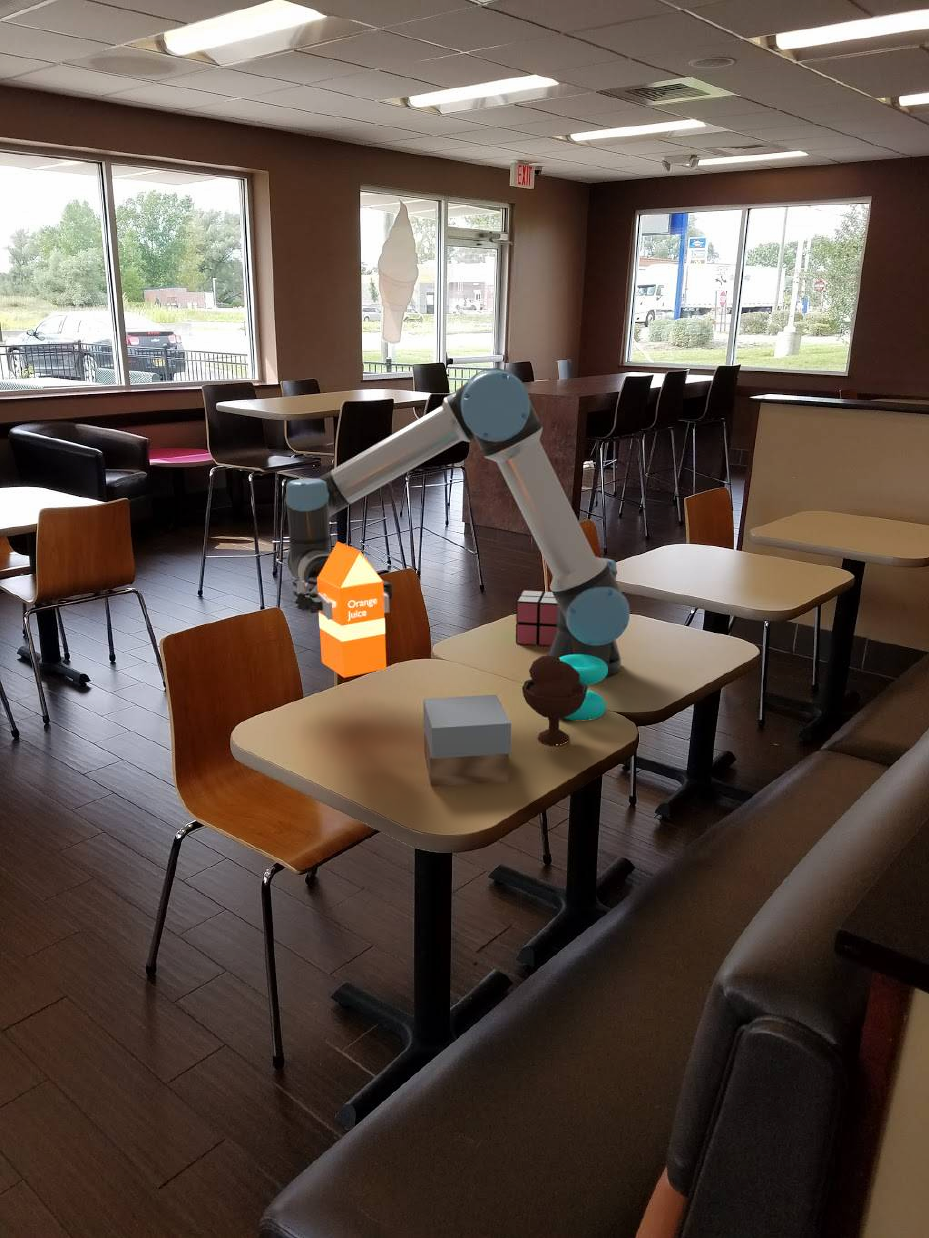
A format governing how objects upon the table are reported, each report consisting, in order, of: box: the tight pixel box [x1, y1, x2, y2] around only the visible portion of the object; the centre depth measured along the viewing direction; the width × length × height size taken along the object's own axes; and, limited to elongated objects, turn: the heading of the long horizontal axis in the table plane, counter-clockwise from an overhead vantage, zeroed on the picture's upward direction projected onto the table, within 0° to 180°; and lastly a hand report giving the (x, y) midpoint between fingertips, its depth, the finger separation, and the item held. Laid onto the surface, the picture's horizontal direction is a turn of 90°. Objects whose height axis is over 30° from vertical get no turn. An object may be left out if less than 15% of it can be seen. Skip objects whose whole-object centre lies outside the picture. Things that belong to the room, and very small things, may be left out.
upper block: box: [422, 694, 512, 759], centre depth 146 cm, size 12×12×5 cm
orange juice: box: [317, 541, 387, 679], centre depth 150 cm, size 8×9×20 cm
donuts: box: [559, 654, 608, 721], centre depth 168 cm, size 10×10×10 cm
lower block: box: [423, 729, 510, 787], centre depth 148 cm, size 12×12×5 cm
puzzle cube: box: [515, 590, 557, 647], centre depth 210 cm, size 10×10×10 cm
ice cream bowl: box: [521, 654, 589, 746], centre depth 156 cm, size 11×11×15 cm
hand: (358, 607), depth 145 cm, fingers closed on orange juice, 8 cm apart
